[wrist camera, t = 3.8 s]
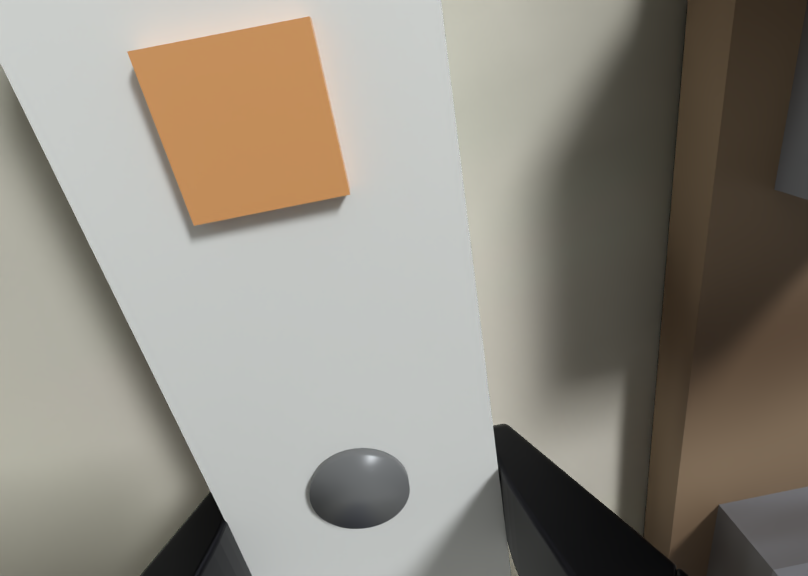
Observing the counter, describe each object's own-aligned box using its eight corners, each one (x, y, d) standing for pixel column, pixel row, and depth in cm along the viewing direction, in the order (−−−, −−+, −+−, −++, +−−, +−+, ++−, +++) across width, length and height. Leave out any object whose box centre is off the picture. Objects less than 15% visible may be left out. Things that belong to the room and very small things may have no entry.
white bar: (499, 634, 14) (538, 786, 11) (363, 664, 14) (366, 824, 11) (376, -177, 6) (401, -382, 3) (65, -119, 6) (-192, -279, 3)
